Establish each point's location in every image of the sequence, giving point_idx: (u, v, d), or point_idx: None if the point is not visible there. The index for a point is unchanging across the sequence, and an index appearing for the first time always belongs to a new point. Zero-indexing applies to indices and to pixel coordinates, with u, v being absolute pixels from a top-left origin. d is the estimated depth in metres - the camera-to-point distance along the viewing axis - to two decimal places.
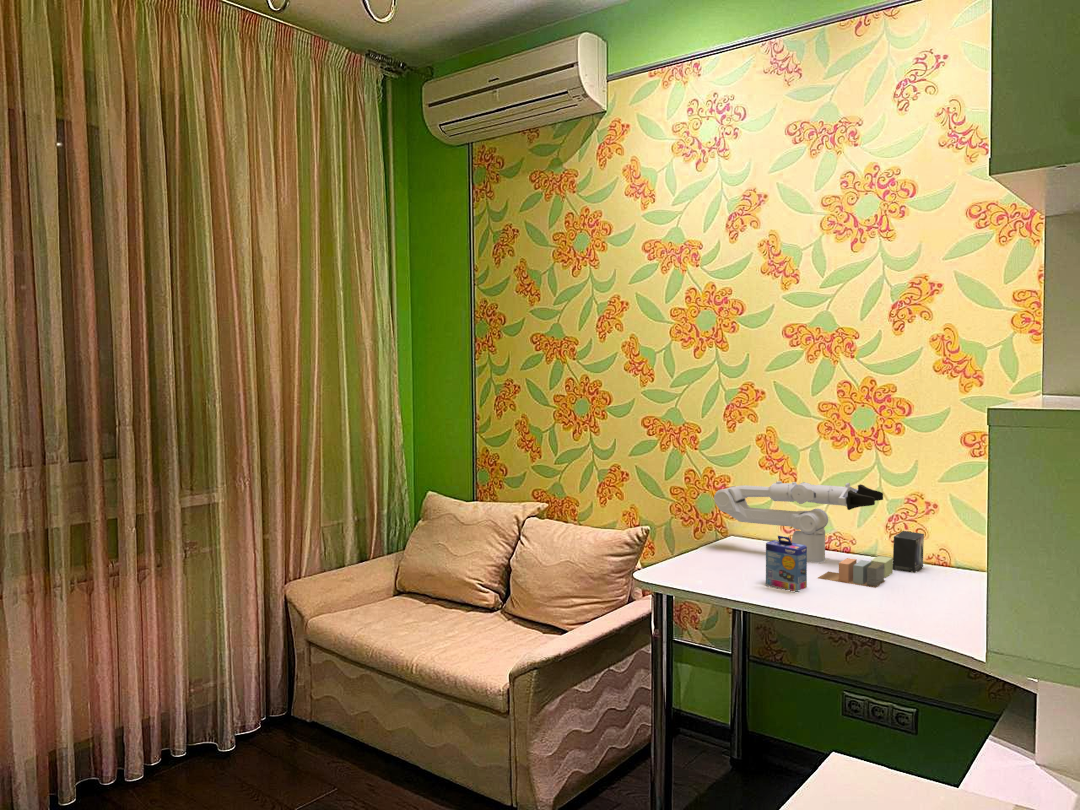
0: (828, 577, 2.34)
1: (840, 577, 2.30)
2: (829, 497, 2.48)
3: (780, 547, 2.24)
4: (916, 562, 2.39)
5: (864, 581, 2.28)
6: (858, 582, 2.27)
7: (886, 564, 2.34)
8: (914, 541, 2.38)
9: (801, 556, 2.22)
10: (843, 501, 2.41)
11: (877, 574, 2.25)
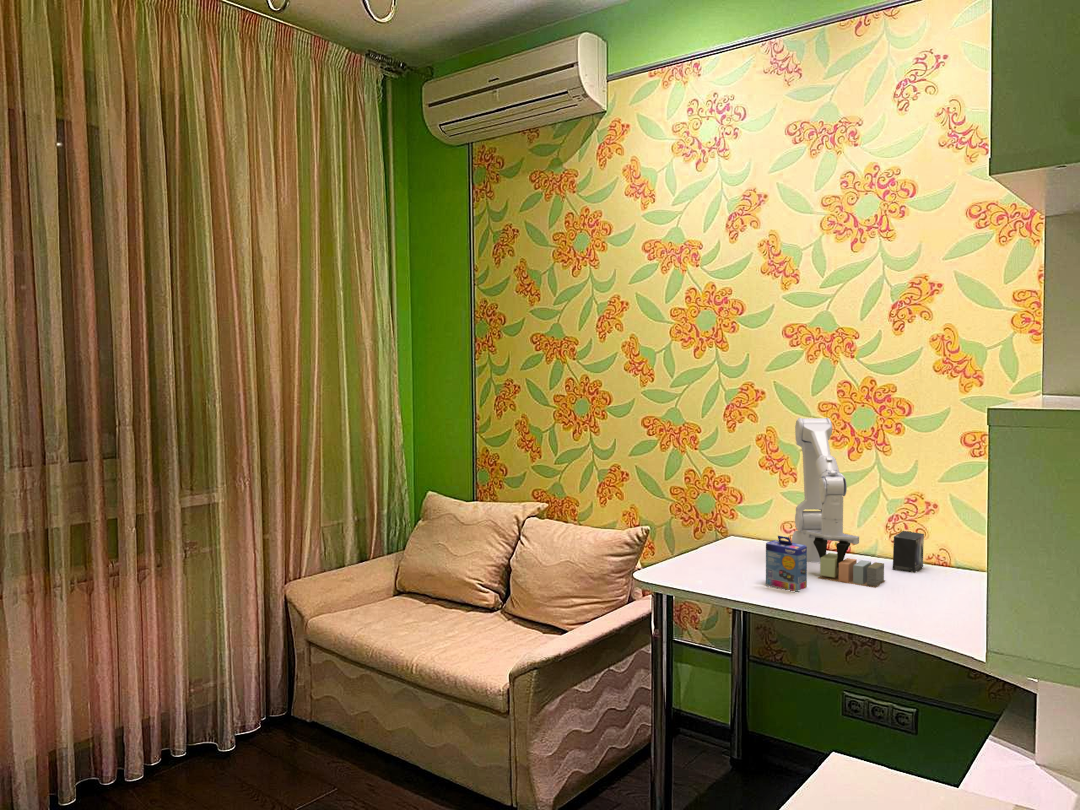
0: (828, 577, 2.34)
1: (840, 577, 2.30)
2: None
3: (780, 547, 2.24)
4: (916, 562, 2.39)
5: (864, 581, 2.28)
6: (858, 582, 2.27)
7: (835, 561, 2.32)
8: (914, 541, 2.38)
9: (801, 556, 2.22)
10: None
11: (877, 574, 2.25)
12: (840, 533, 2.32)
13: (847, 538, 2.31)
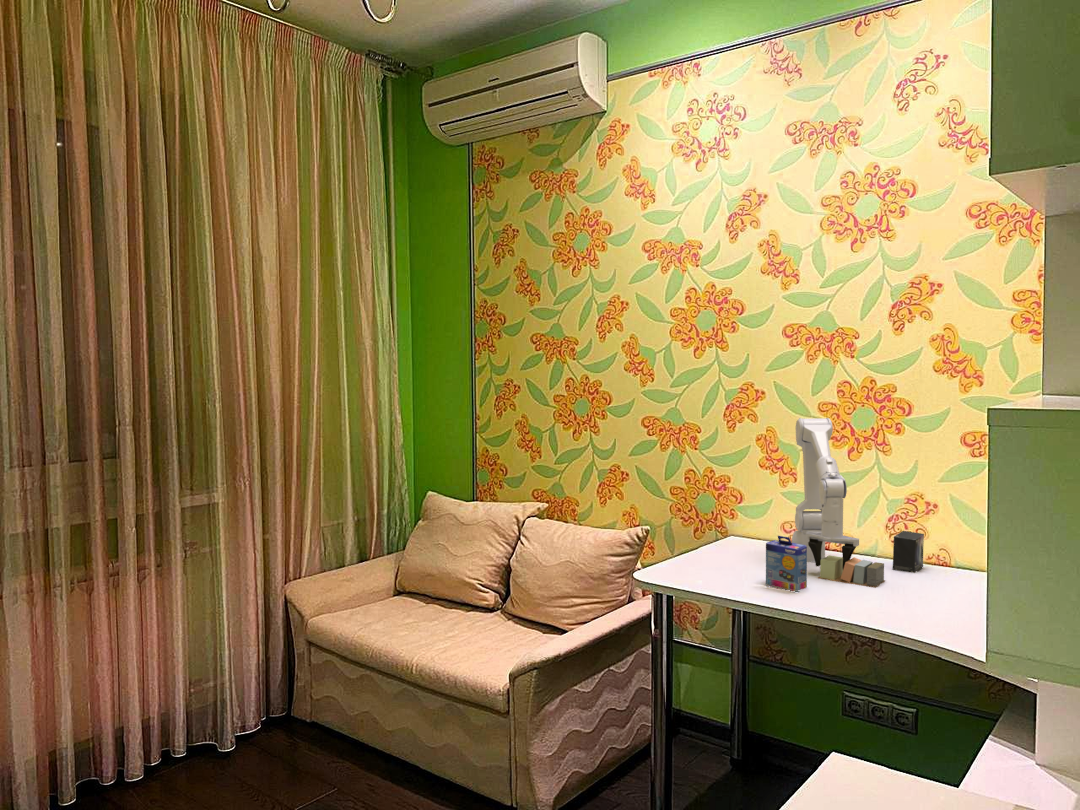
0: None
1: (843, 576, 2.30)
2: None
3: (780, 547, 2.24)
4: (916, 562, 2.39)
5: (864, 581, 2.28)
6: (858, 582, 2.27)
7: (835, 563, 2.32)
8: (914, 541, 2.38)
9: (801, 556, 2.22)
10: None
11: (877, 574, 2.25)
12: (840, 535, 2.32)
13: (847, 540, 2.31)
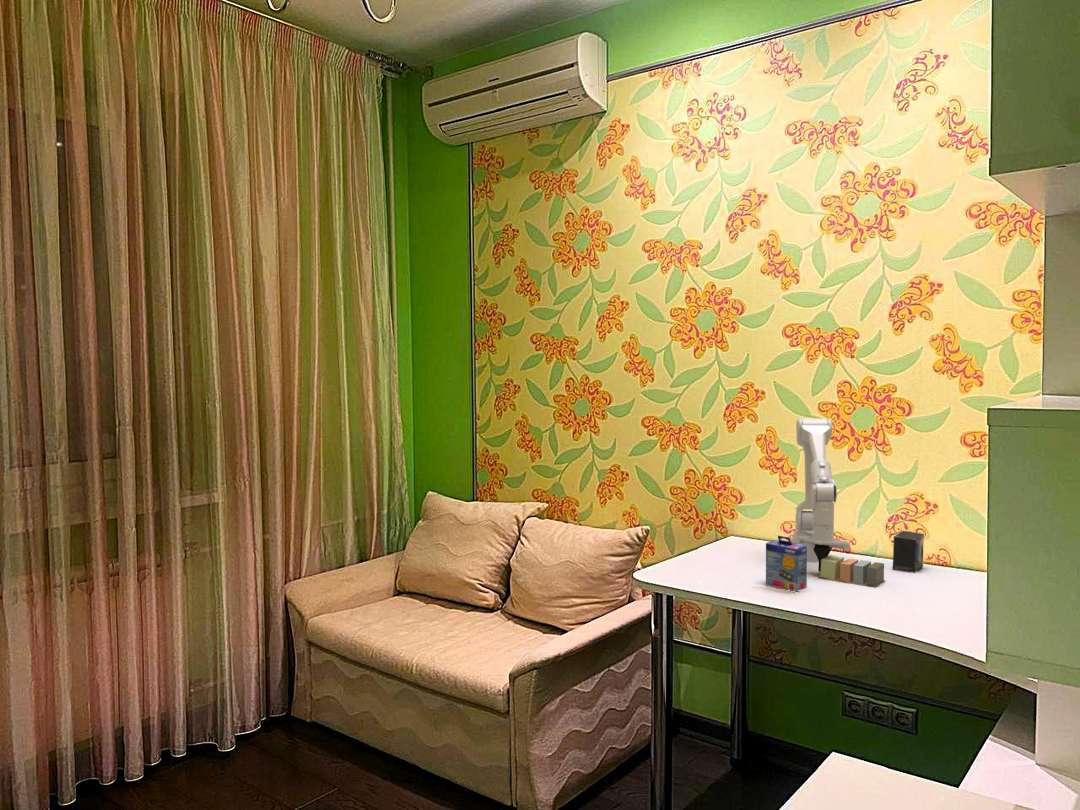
0: None
1: (842, 577, 2.30)
2: None
3: (780, 547, 2.24)
4: (916, 562, 2.39)
5: (864, 581, 2.28)
6: (858, 582, 2.27)
7: (836, 564, 2.32)
8: (914, 541, 2.38)
9: (801, 556, 2.22)
10: None
11: (877, 574, 2.25)
12: (831, 539, 2.34)
13: (838, 544, 2.32)
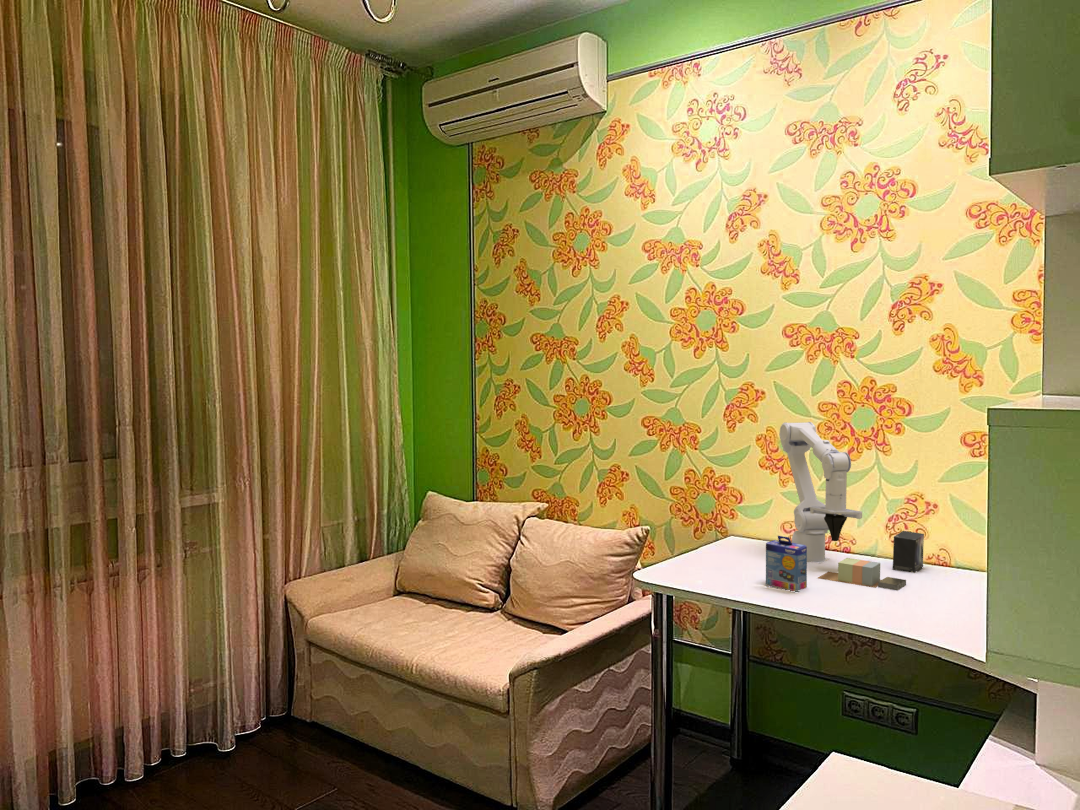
0: (828, 577, 2.34)
1: (854, 579, 2.28)
2: None
3: (780, 547, 2.24)
4: (916, 562, 2.39)
5: (873, 582, 2.26)
6: (867, 583, 2.26)
7: None
8: (914, 541, 2.38)
9: (801, 556, 2.22)
10: None
11: None
12: (843, 508, 2.38)
13: (850, 513, 2.37)
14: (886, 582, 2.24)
